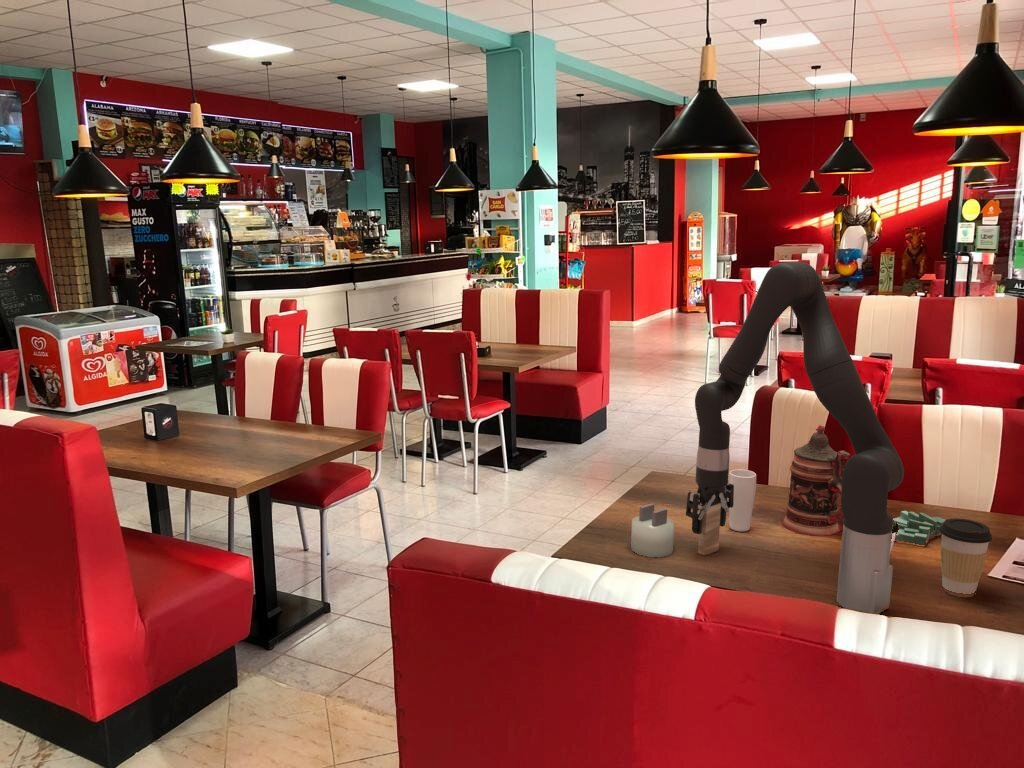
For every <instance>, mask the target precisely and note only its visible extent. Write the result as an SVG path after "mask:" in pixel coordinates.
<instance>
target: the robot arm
mask: <svg viewBox="0 0 1024 768" xmlns="http://www.w3.org/2000/svg"><path fill="white" fill-rule="evenodd" d="M829 305H830V304H829V303H828V300H827V296H826V294H825V290H824V286H823V284H822V280H821V278H820V275H819V273H818V272H817V270H816V269H815V268H814V267H813V266H812V265H810V264H809V263H807V262H803V261H788V262H787V261H786V262H780V263H777V264H774V265H773V266H771V267H770V268H769V269H768V270H767V272H766V273H765V275H764V277H763V279H762V281H761V283H760V286H759V289H758V291H757V293H756V295H755V298H754V300H753V303H752V305H751V307H750V309H749V311H748V314H747V315H746V319H745V320H744V322H743V324H742V327H741V328H740V330H739V332H738V333H737V335H736V337H735V338H734V340H733V342H732V343H731V345H730V347H729V348H728V349H727V351H726V352H725V354H724V356H723V357H722V358H721V361H720V363H719V366H718V372H719V377H718V379H717V380H716V381H712V382H708V383H704V384H702V385H701V386H699V388H698V389H697V391H696V394H695V396H694V408H695V414H696V418H697V419H696V420H697V423H698V426H699V428H698V429H699V432H698V446H697V447H698V448H697V452H696V465H695V483H696V484H697V486H698V487H697V491H696V492H693V491H689V492H687V498H686V508H685V516H686V517H689V518H691V531H692V533H694V534H696V535H699V534H701V531H702V517H703V515H704V513H705V512H707V511H708V509H709V507H710V506H713V505H716V504H718V503H721V511H720V528H721V527H725V526H726V523H727V512H729V508H730V507H731V508H732V507H733V501H734V485H733V484H730V483H729V473H730V461H731V460H730V455H731V454H730V440H731V439H730V438H731V428H730V425H729V423H728V422H726V421H724V420H723V417H722V412H723V411H727V410H729V409H731V408H733V407H735V405H736V404H737V403H738V401H739V400H740V398H741V396H742V394H743V391H744V389H745V387H746V383H747V380H748V378H749V377H750V376H751V375H752V372H753V371H754V369H755V368H756V367H757V366H758V363H759V362H760V361H761V359H762V357H763V354H764V352H765V350H766V348H767V343H768V338H769V336H770V333H771V331H772V328H773V327H774V325H775V323H776V321H777V320H778V319H779V318H780V317H781V315H782V314H783V313H784V312H785V311H786V310H787V309H788V307H790V308H791V311H792V312H793V313H794V316H795V318H796V320H797V322H798V324H799V326H800V327H799V328H800V331H801V334H802V342H803V344H802V345H803V346H802V350H803V363H804V367H805V368H804V370H805V372H806V375H807V377H808V379H809V382H810V384H811V387H812V389H813V392H814V393H815V395H816V397H817V399H818V400H819V402H820V403H821V405H822V406H823V407H824V409H826V411H827V412H828V413H829V414H830V415H831V416H832V417H833V418H834V419H835V420H836V421H837V422H838V423H839V425H840V426H841V427H842V428H843V429H844V431H845V433H846V434H847V436H848V438H849V441H850V443H851V445H852V449H853V451H854V453H855V454H853V455H851V456H850V458H848V459H846V460H847V461H845V463H844V465H845V466H844V468H843V474H842V488H841V493H840V508H841V510H842V513H843V516H844V518H843V519H842V520H843V523H842V528H843V529H842V530H841V531H842V532H841V533H842V534H841V545H840V554H839V555H840V557H839V567H838V578H837V579H838V580H837V589H836V602H839V604H841V605H842V607H845V608H849V609H854V610H858V611H863V612H869V613H876V612H879V610H882V609H883V608H885V607H886V606H888V605H889V606H890V600H891V590H892V582H893V571H894V566H893V565H892V564H890V557H891V556H890V555H891V547H892V541H891V539H892V529H893V519H894V517H893V516H892V514H891V513H889V512H888V499H889V498H888V495H889V492H892V491H893V490H895V489H896V488H898V487H899V486H900V485H901V484H902V482H903V480H904V478H905V477H904V475H905V468H904V464H903V462H902V459H901V458H900V457H901V456H899V453H898V452H897V450H896V448H895V447H894V445H893V443H892V441H891V439H890V438H889V436H888V434H887V433H886V431H885V429H884V427H883V426H882V424H881V422H880V420H879V418H878V416H877V414H876V411H875V409H874V406H873V404H872V401H871V399H870V398H869V396H868V394H867V391H866V389H865V387H864V384H863V381H862V379H861V376H860V373H859V372H858V369H857V367H856V365H855V362H854V361H853V357H852V356H851V354H850V353H849V351H848V348H847V346H846V344H845V342H844V340H843V336H842V334H841V332H840V330H839V328H838V326H837V324H836V322H835V320H834V317H833V314H832V311H831V309H830V306H829ZM700 505H703V507H702V506H700ZM839 604H838V605H839ZM842 607H841V608H842ZM866 610H867V611H866ZM878 615H879V613H878Z"/></svg>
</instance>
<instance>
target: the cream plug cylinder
mask: <svg viewBox="0 0 1024 768" xmlns="http://www.w3.org/2000/svg"><path fill="white" fill-rule="evenodd" d="M638 514H639V515H637V516H634V517H632V520H631V537H630V538H631V539H630V550H631V549H632V550H631V551H632V552H633V551H634V552H635V553H634V552H633V553H634V554H636V553H637V554H636V555H638V554H640V555H639V556H641V555H643V556H642V557H645V556H648V557H647V558H653V557H658V558H665V557H668V556H670V555H671V554H672V553H673V552H674V531H675V530H674V527H675V523H674V520H673V519H671V518H670V517H668V508H660V509H658V510H655V504H654V503H652V502H651V503H649V504H645V505H641V506H639V513H638ZM664 556H665V557H664Z"/></svg>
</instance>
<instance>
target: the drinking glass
mask: <svg viewBox="0 0 1024 768" xmlns="http://www.w3.org/2000/svg"><path fill="white" fill-rule="evenodd" d="M728 483H730V484H733V485H734V501H733V507H732V508H731V507H730V508H728V517H729V518H728V527H729V529H731V530H732V531H734V532H735V531H736V532H741V533H743V532H748V531H750V529H751V524H752V515H753V508H754V504H755V497H756V488H757V474H756V473H755V472H754V471H752V470H748V469H742V468H741V469H740V468H739V469H732V470H729V475H728Z"/></svg>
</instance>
